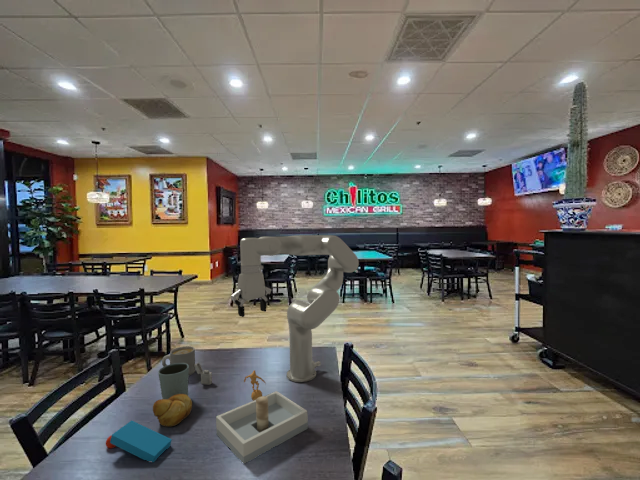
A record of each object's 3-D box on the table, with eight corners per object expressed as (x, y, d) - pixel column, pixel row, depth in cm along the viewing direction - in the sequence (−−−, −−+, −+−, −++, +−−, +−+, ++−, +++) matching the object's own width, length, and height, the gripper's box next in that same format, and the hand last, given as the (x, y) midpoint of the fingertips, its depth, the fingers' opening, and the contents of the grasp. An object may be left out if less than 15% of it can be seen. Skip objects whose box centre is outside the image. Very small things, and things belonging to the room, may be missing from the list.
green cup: (194, 399, 116) (193, 367, 116) (166, 411, 109) (164, 377, 108) (182, 390, 123) (181, 360, 123) (155, 401, 116) (153, 368, 115)
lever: (166, 461, 92) (117, 436, 95) (171, 439, 91) (121, 415, 95) (149, 479, 85) (96, 452, 89) (154, 456, 84) (100, 429, 88)
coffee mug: (199, 367, 144) (198, 346, 143) (189, 377, 134) (188, 354, 134) (170, 367, 144) (169, 346, 144) (158, 377, 134) (157, 354, 134)
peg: (264, 426, 99) (263, 395, 99) (270, 431, 97) (270, 399, 96) (254, 431, 97) (253, 399, 97) (260, 436, 94) (259, 403, 94)
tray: (276, 406, 111) (276, 391, 110) (307, 428, 98) (307, 411, 98) (216, 434, 96) (216, 416, 96) (243, 464, 83) (243, 443, 83)
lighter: (212, 382, 129) (211, 363, 129) (209, 384, 127) (209, 365, 127) (197, 381, 131) (196, 362, 130) (194, 383, 129) (193, 363, 129)
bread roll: (179, 405, 113) (179, 383, 112) (202, 410, 110) (201, 387, 109) (149, 426, 101) (148, 402, 100) (173, 432, 97) (172, 407, 97)
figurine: (269, 398, 116) (268, 366, 115) (263, 408, 110) (262, 374, 109) (248, 397, 117) (247, 365, 117) (241, 405, 111) (240, 372, 111)
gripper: (264, 266, 130) (265, 307, 131) (225, 271, 118) (227, 316, 119) (275, 268, 125) (276, 310, 126) (235, 273, 113) (237, 320, 114)
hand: (252, 313), depth 122 cm, fingers open, 9 cm apart
